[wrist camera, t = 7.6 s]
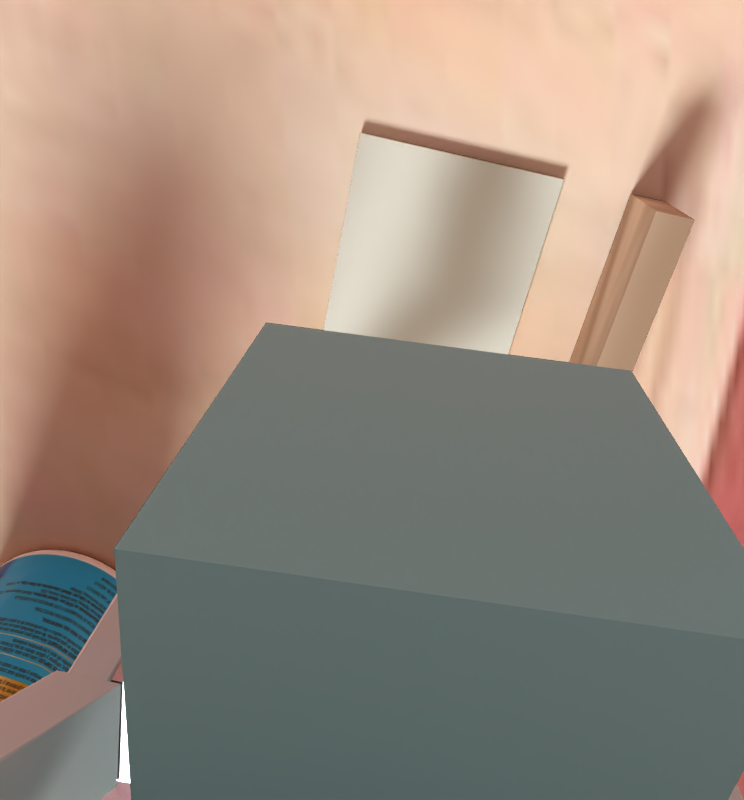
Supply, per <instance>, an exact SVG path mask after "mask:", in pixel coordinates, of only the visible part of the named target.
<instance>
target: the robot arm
mask: <svg viewBox="0 0 744 800" xmlns="http://www.w3.org/2000/svg"><path fill="white" fill-rule="evenodd" d="M117 781H121V782H127V783H130V774H129V759H128V744H127V730H126V715H125V701H124V686H123V672H122V657H121V643H120V628H119V614H118V599H117V594H116V596H115V597H114V599H113V600H112V602H111V604H110V605H109V607H108V608H107V610H106V612H105V613H104V615H103V616H102V618H101V620H100V621H99V623H98V624H97V626H96V628H95V629H94V631H93V632H92V634H91V636H90V637H89V639H88V640H87V642H86V644H85V645H84V647H83V648H82V650H81V652H80V653H79V655H78V656H77V658H76V660H75V661H74V663H73V665H72V666H71V668H70V669H69V671H68V672H63V671H57V670H56V671H55V672H53V673H51V674H49V675H48V676H46V677H44V678H42V679H40V680H39V681H37V682H35V683H33V684H31V685H30V686H28V687H26V688H24V689H23V690H21V691H19V692H17V693H15V694H14V695H12V696H10V697H8V698H6V699H5V700H3V701H1V702H0V800H101V799H102V798H103V797H104V796H105V795H106V794H107V793H109V792H110V791H111V790H112V789H113V788H114V787H116V786H117ZM728 800H743V797H742V795H741V793H740V790H739V788H738V785H737V784H736V786H735V788H734V790H733V791H732V793H731V795H730V797H729V799H728Z"/></svg>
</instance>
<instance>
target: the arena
mask: <svg viewBox="0 0 744 800" xmlns="http://www.w3.org/2000/svg"><path fill="white" fill-rule="evenodd" d="M563 181H564V179H562V178H558V177H554V176H550V175H545V174H541V173H536V172H532V171H528V170H523V169H519V168H515V167H510V166H506V165H502V164H497V163H493V162H488V161H484V160H480V159H475V158H471V157H467V156H462V155H458V154H453V153H449V152H445V151H440V150H436V149H432V148H427V147H423V146H418V145H414V144H410V143H405V142H401V141H397V140H392V139H388V138H383V137H379V136H375V135H370V134H366V133H362V132H361V133H360V137H359V142H358V148H357V153H356V159H355V164H354V169H353V175H352V180H351V185H350V191H349V196H348V201H347V207H346V212H345V217H344V223H343V228H342V233H341V239H340V244H339V250H338V255H337V260H336V266H335V271H334V276H333V282H332V287H331V292H330V298H329V303H328V308H327V314H326V319H325V325H324V330H326V331H334V332H342V333H349V334H357V335H364V336H372V337H380V338H387V339H395V340H402V341H410V342H418V343H425V344H433V345H440V346H448V347H455V348H463V349H471V350H478V351H486V352H493V353H501V354H508V353H509V350H510V347H511V344H512V341H513V337H514V334H515V331H516V328H517V325H518V322H519V319H520V315H521V312H522V309H523V306H524V303H525V300H526V297H527V294H528V290H529V287H530V284H531V281H532V278H533V275H534V272H535V269H536V265H537V262H538V259H539V256H540V253H541V250H542V247H543V243H544V240H545V237H546V234H547V231H548V228H549V225H550V222H551V218H552V215H553V212H554V209H555V206H556V203H557V200H558V197H559V193H560V190H561V187H562V184H563ZM693 223H694V219H692V218H691V217H689V216H688V215H686V214H684V213H683V212H681V211H679V210H678V209H676V208H674V207H673V206H671V205H669V204H668V203H666V202H663V201H659V200H655V199H650V198H646V197H641V196H637V195H633V194H631V195H630V198H629V200H628V203H627V206H626V209H625V211H624V214H623V217H622V220H621V222H620V225H619V228H618V231H617V233H616V236H615V239H614V242H613V244H612V247H611V250H610V253H609V255H608V258H607V261H606V264H605V266H604V269H603V272H602V274H601V277H600V280H599V283H598V285H597V288H596V291H595V294H594V296H593V299H592V302H591V305H590V307H589V310H588V313H587V316H586V318H585V321H584V324H583V327H582V329H581V332H580V335H579V338H578V340H577V343H576V346H575V349H574V351H573V354H572V357H571V360H570V362H569V363H577V364H584V365H592V366H600V367H607V368H615V369H622V370H630V371H633V369H634V366H635V364H636V361H637V359H638V356H639V354H640V351H641V349H642V347H643V344H644V342H645V339H646V337H647V334H648V332H649V330H650V327H651V325H652V322H653V320H654V317H655V315H656V313H657V310H658V308H659V305H660V303H661V300H662V298H663V296H664V293H665V291H666V288H667V286H668V283H669V281H670V279H671V276H672V274H673V271H674V269H675V266H676V264H677V262H678V259H679V257H680V254H681V252H682V249H683V247H684V245H685V242H686V240H687V237H688V235H689V232H690V230H691V228H692V225H693Z"/></svg>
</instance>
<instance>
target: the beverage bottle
mask: <svg viewBox="0 0 744 800" xmlns="http://www.w3.org/2000/svg"><path fill="white" fill-rule="evenodd" d="M116 594H117V585H116V571H115V570H113V569H112V568H110V567H109V566H107V565H105V564H103V563H102V562H100V561H97V560H95V559H93V558H90V557H88V556H85V555H82V554H78V553H74V552H69V551H62V550H40V551H33V552H29V553H25V554H22V555H19V556H17V557H15V558H13V559H11V560H9V561H7V562H6V563H4V564H3V565H2V566H0V702H1V701H3V700H5V699H6V698H8V697H10V696H12V695H14V694H15V693H17V692H19V691H21V690H23V689H24V688H26V687H28V686H30V685H31V684H33V683H35V682H37V681H39V680H40V679H42V678H44V677H46V676H48V675H49V674H51V673H53V672H55V671H56V670H57V671H63V672H68V671H69V669H70V668H71V666H72V665H73V663H74V661H75V660H76V658H77V656H78V655H79V653H80V652H81V650H82V648H83V647H84V645H85V644H86V642H87V640H88V639H89V637H90V636H91V634H92V632H93V631H94V629H95V628H96V626H97V624H98V623H99V621H100V620H101V618H102V616H103V615H104V613H105V612H106V610H107V608H108V607H109V605H110V604H111V602H112V600H113V599H114V597H115V596H116Z"/></svg>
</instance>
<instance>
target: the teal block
mask: <svg viewBox="0 0 744 800" xmlns="http://www.w3.org/2000/svg"><path fill="white" fill-rule="evenodd" d="M114 556H115V570H116V585H117V599H118V614H119V628H120V643H121V657H122V672H123V686H124V701H125V715H126V730H127V744H128V759H129V774H130V788H131V800H728V799H729V797H730V795H731V793H732V791H733V790H734V788H735V786H736V784H737V782H738V780H739V778H740V776H741V774H742V772H743V770H744V549H743V547H742V545H741V544H740V542H739V541H738V539H737V537H736V536H735V534H734V533H733V531H732V530H731V528H730V526H729V525H728V523H727V522H726V520H725V518H724V517H723V515H722V514H721V512H720V511H719V509H718V507H717V506H716V504H715V503H714V501H713V500H712V498H711V496H710V495H709V493H708V492H707V490H706V488H705V487H704V485H703V484H702V482H701V481H700V479H699V477H698V476H697V474H696V473H695V471H694V469H693V468H692V466H691V465H690V463H689V462H688V460H687V458H686V457H685V455H684V454H683V452H682V451H681V449H680V447H679V446H678V444H677V443H676V441H675V439H674V438H673V436H672V435H671V433H670V432H669V430H668V428H667V427H666V425H665V424H664V422H663V420H662V419H661V417H660V416H659V414H658V413H657V411H656V409H655V408H654V406H653V405H652V403H651V401H650V400H649V398H648V397H647V395H646V394H645V392H644V390H643V389H642V387H641V386H640V384H639V383H638V381H637V379H636V378H635V376H634V375H633V373H632V371H630V370H622V369H615V368H607V367H600V366H592V365H584V364H577V363H569V362H562V361H554V360H546V359H539V358H531V357H524V356H516V355H509V354H501V353H493V352H486V351H478V350H471V349H463V348H455V347H448V346H440V345H433V344H425V343H418V342H410V341H402V340H395V339H387V338H380V337H372V336H364V335H357V334H349V333H342V332H334V331H326V330H319V329H311V328H304V327H296V326H289V325H281V324H273V323H266V324H265V325H264V327H263V328H262V330H261V331H260V333H259V334H258V336H257V337H256V339H255V340H254V341H253V343H252V344H251V346H250V347H249V349H248V350H247V352H246V353H245V355H244V356H243V358H242V359H241V361H240V362H239V364H238V365H237V367H236V368H235V370H234V371H233V373H232V374H231V376H230V377H229V379H228V380H227V382H226V383H225V385H224V386H223V388H222V389H221V391H220V392H219V394H218V395H217V397H216V398H215V400H214V401H213V402H212V404H211V405H210V407H209V408H208V410H207V411H206V413H205V414H204V416H203V417H202V419H201V420H200V422H199V423H198V425H197V426H196V428H195V429H194V431H193V432H192V434H191V435H190V437H189V438H188V440H187V441H186V443H185V444H184V446H183V447H182V449H181V450H180V452H179V453H178V455H177V456H176V458H175V459H174V460H173V462H172V463H171V465H170V466H169V468H168V469H167V471H166V472H165V474H164V475H163V477H162V478H161V480H160V481H159V483H158V484H157V486H156V487H155V489H154V490H153V492H152V493H151V495H150V496H149V498H148V499H147V501H146V502H145V504H144V505H143V507H142V508H141V510H140V511H139V513H138V514H137V516H136V517H135V519H134V520H133V521H132V523H131V524H130V526H129V527H128V529H127V530H126V532H125V533H124V535H123V536H122V538H121V539H120V541H119V542H118V544H117V545H116V547H115V548H114Z"/></svg>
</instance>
